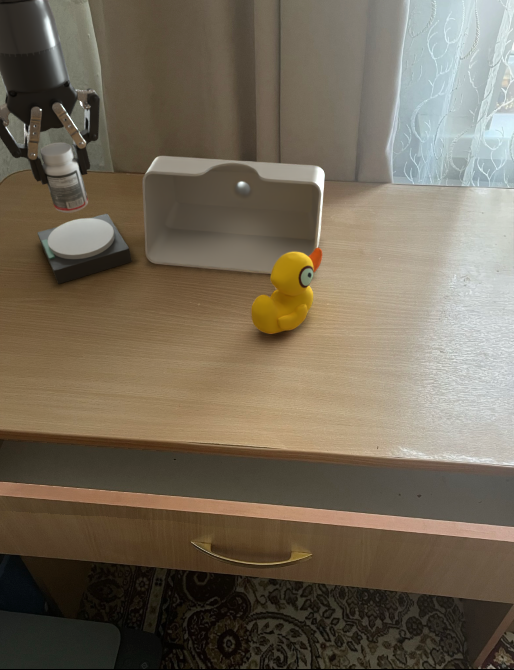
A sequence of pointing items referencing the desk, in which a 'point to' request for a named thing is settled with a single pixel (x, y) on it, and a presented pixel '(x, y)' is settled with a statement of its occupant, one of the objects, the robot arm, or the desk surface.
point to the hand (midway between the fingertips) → (63, 176)
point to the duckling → (287, 293)
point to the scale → (84, 247)
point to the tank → (230, 212)
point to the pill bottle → (64, 177)
